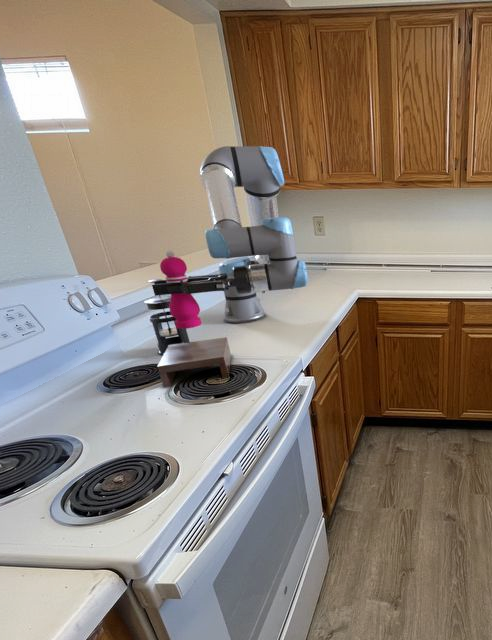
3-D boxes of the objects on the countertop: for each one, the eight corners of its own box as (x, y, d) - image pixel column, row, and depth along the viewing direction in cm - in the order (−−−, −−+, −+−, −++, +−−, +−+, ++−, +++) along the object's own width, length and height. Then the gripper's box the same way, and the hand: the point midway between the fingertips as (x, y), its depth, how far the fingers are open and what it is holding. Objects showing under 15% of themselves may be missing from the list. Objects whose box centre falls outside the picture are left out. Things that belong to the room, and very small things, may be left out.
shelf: (174, 363, 125) (168, 345, 123) (231, 355, 130) (226, 337, 128) (163, 387, 110) (157, 366, 108) (228, 376, 115) (223, 356, 113)
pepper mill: (191, 329, 111) (170, 252, 103) (168, 329, 112) (146, 252, 104) (209, 322, 118) (191, 248, 109) (186, 321, 119) (167, 249, 111)
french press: (151, 353, 134) (128, 282, 125) (176, 343, 142) (156, 276, 133) (177, 357, 130) (156, 284, 121) (201, 347, 138) (183, 277, 129)
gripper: (253, 299, 110) (153, 310, 103) (252, 286, 125) (165, 295, 118) (247, 270, 107) (144, 279, 100) (247, 261, 122) (158, 268, 115)
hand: (156, 288), depth 109 cm, fingers closed on pepper mill, 5 cm apart
